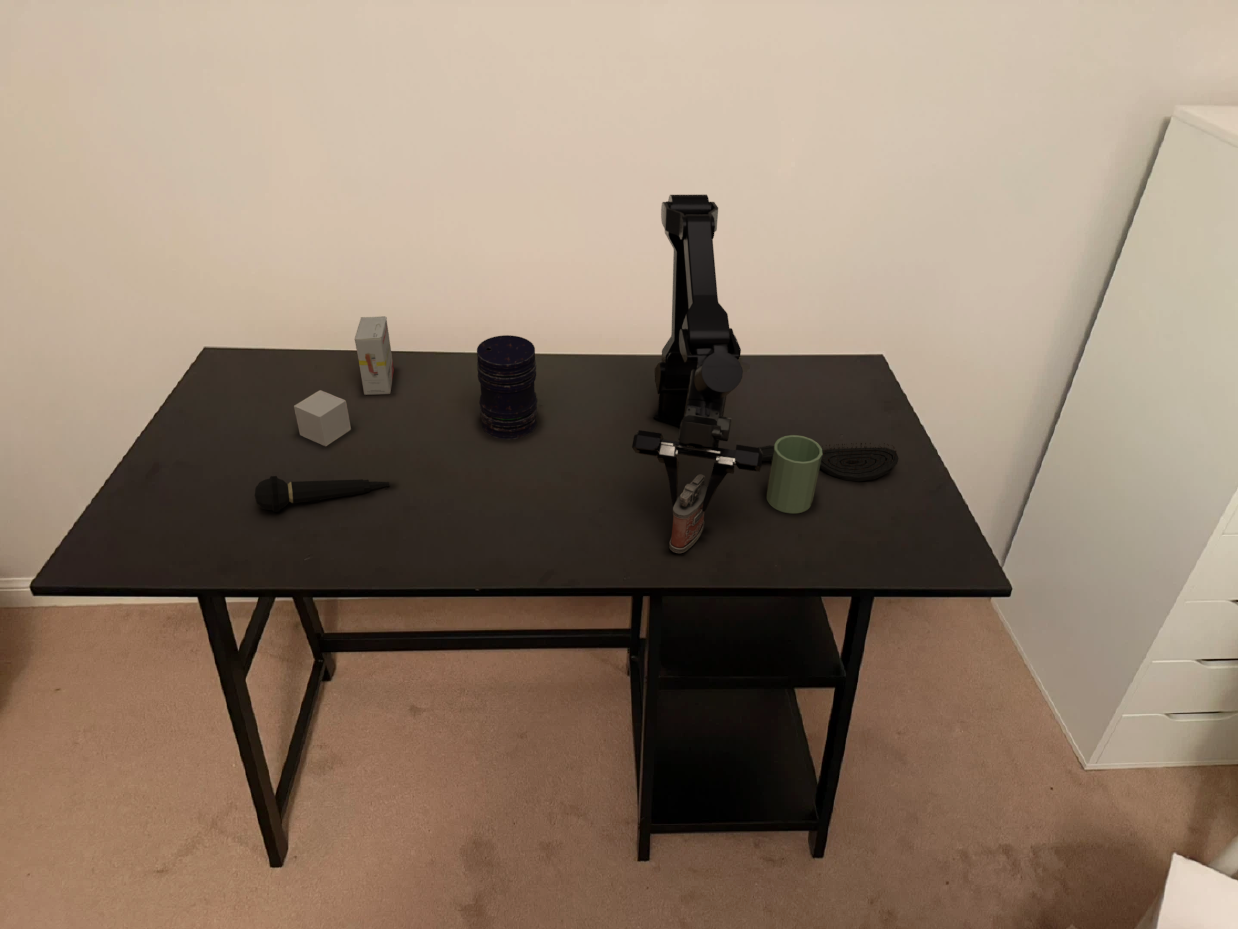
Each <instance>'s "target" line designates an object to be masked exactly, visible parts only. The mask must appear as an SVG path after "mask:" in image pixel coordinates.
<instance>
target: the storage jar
mask: <svg viewBox="0 0 1238 929" xmlns="http://www.w3.org/2000/svg"><path fill="white" fill-rule="evenodd" d="M476 356H477V357H476V361H477V362H476V370H477V379H478V382H479V384H480V385H479V386H480V395H479V402H478V403H479V414H480V419H481V428H482V430H483V431H484V433H486V434H487V435H488V436H490V437H493V438H495V439H499V440H517V439H521V438H525V437H527V436H529V435H530V434H531V433H532V432H534V431H535V429H536V428H537V424H538V420H537V413H538V397H537V394H536V389H535V381H536V380H537V361H536V347H535V345H534V343H532V341H530V340H529V339H527V338H524V337H522V336H517V335H508V334H507V335H505V334H504V335H495V336H491V337H488V338H486V339H484V340H483V341H481V342H480V343H479V344H478V345H477V348H476Z"/></svg>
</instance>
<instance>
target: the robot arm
mask: <svg viewBox="0 0 1238 929" xmlns="http://www.w3.org/2000/svg"><path fill="white" fill-rule="evenodd" d="M718 218H719V206H718V205H717V204H716V202H715V201H710V200H709V196H708V194H669V196H668V200H667V201H662V202H661V208H660V219H661V224H662V227H663V228H664V234H665V236H666V238H667V239H668V241H669V243H670V246H671V247H672V249H673V260H672V262H673V263H672V297H671V299H672V300H671V302H672V303H671V307H672V308H671V332H670V333H671V336H670V337H669V338H668V340H667V342H666V343H665V345H664V346H663V347H662V349H661V360H660V361H658V362H657V364H656V366H655V368H654V384H655V388H656V393H657V395H658V406H657V407H658V408H657V412H655V414H653V419H654V420H656V421H660V422H661V423H665V424H667V425H668V424H669V425H670V426H674V427H676V428H679V430H678V436H677V441H676V440H670V439H665V438H664V435H663V433H662V432H654V431H648V430H641V429H638V430H637V431H636V432H634V434H633V438H632V439H633V440H632V445H631V448H632V450H633V452H634V453H635V454H638V455H645V456H651V457H656V459H657V461H658V462H659V463H660V464H664V467H665V471H666V473H667V478H668V483H669V484H668V485H669V492H670V498H671V505H672V508H673V507H674V505H675V503H676V501H677V499H678V493H679V490H678V488H679V472H680V471H679V470H680V461H679V459H678V457H679V455H681V456H687V457H693V458H694V457H695V458H699V459H708V460H713V461H714V462H713V466H712V469H711V473H710V477H709V481H708V483H707V491H706V494H705V498H704V501H703V508H702V512H704V513H705V512H706V511H707V508H708V507H709V505H710V503H711V501H712V499H713V497H714V495H715V493H716V492H717V489H718V488H719V486H720V484H721V483H722V482H723V480H724V478H725V477H726V476H727V474H732V475H734V474H735V467H737V469H738V470H744V471H750V472H756V473H757V472H761V468H762V462H763V461H762V457H763V452H762V450H761V449H760V448H758V447H755V446H749V445H742V444H736V446H735V449H731V448H730V449H729V448H723V447H719V445H720V441H721V442H728V441H729V438H730V431H731V424H732V417H728V416H724V414H725V407H726V401H727V396H728V395H729V394H730V393H732V392H733V390H735V389H736V388H737V387H738V386H739V384H740V383H741V382H742V379H743V373H744V372H743V367H742V365H741V362H740V361H739V360H740V357H741V353H742V348H741V346H740V344H739V341H738V339H737V337H736V335H735V333H734V330H733V328H732V327H730V322H729V314H728V312H727V311H726V310H725V309H724V307H723V306H722V305H721V303H719V297H718V286H717V285H718V284H717V275H716V262H715V251H714V237H715V233H716V232H717V231H718Z"/></svg>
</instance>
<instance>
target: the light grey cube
mask: <svg viewBox="0 0 1238 929" xmlns="http://www.w3.org/2000/svg"><path fill="white" fill-rule="evenodd" d="M293 410H294V413H295V418H296V423H297V428H298V433H299V436H301V437H303V438H306V439H308V440H310V441H312V442H314V443H317V444H320V445H321V446H323V447H327V446H329V445H330V444H332V443H333V442H335V441H336V440H338V439H339V438H341V437H342V436H344V435H346V434H347V433H348V432H350V431H351V430H352V428H351V421H350V415H349V410H348V405H347V400H345V399H343V398H341V397H339V396H336V395H333V394H331V393H329V392H326V391H323V390H321V389H319V390H318V391H316V392H314V393H313V394H311V395H309V396H308V397H306V398H305V399H303V400H301V401H299V402H298V403H296V404H295V405H293Z"/></svg>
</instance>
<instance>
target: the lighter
mask: <svg viewBox="0 0 1238 929" xmlns="http://www.w3.org/2000/svg"><path fill="white" fill-rule="evenodd" d="M705 481H706V476H705V475H703V474H701V473H699V474H698V475H697V476H696V477H694V479H693V480H692V481H691V482H690V483H686V485H685V486H684V488H683V491H682V492H681V494H680V495H679V496H678V497H677V501H676V503H675V505H674V507H673V506H672V515H673V518H672V528H671V537H670V540H669V544H668V545H669V546H668V547H669V549H670V551H671V552H673V553H676V554H682V553H685V552H687V551H688V550H689V549H690V548H692V546H694V545H695V543H697V541H698V540H699V538H700V537H701V535H702V533H703V531H704V528H705V521H704V519H705V512H702V508H703V501H704V498H705V494H706V491H707V487H708V485H706V484H705Z"/></svg>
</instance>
